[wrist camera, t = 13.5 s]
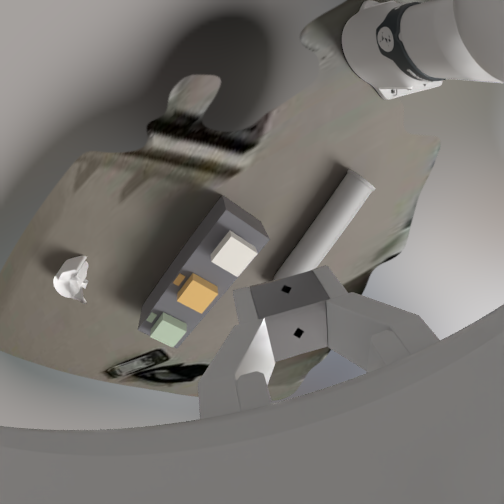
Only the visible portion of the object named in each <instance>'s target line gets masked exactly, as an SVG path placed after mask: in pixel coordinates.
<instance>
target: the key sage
mask: <svg viewBox="0 0 504 504" xmlns="http://www.w3.org/2000/svg"><path fill="white" fill-rule="evenodd" d="M186 332H187V324H186V323H184V322H182V321H180V320H178V319H176V318H174V317H172V316H170V315H168V314H166V313H164V312H163V313H162V315H161V316H160V317H159V319H158V320H157V321H156V323H155V324H154V325H153V327H152V328H151V332H150V337H151V338H153V339H155V340H158V341H160V342H162V343H164V344H166V345H168V346H171V347H174V346H175V345H176V344H177V343H178V341H179V340H180V339H181V338H182V337H183V335H184V334H185V333H186Z"/></svg>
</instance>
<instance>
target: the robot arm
mask: <svg viewBox="0 0 504 504" xmlns="http://www.w3.org/2000/svg"><path fill="white" fill-rule="evenodd" d="M342 47H343V52H344V55H345V57H346V60H347V61H348V63H349V65H350V67H351V68H352V69H353V71H354V72H355V73H356V74H357V75H358V76H359V77H360V78H362V79H363V80H364V81H366V82H367V83H369V84H370V85H372V86H373V87H374V88H375V89H376V91H377V92H378V94H379V95H380V96H381V97H382V98H383V99H385V100H388V99H393V98H396V97H400V96H403V95H407V94H410V93H415V92H418V91H422V90H426V89H430V88H434V87H438V86H441V84H442V81H443V80H445V79H457V80H458V79H459V80H469V81H479V82H494V83H504V0H432V1H428V2H424V3H420V2H414V3H406V4H404V3H396V2H395V1H388V2H384V3H379V2H376V1H372V0H367V1H364V2H363V4H362V6H361V8H360V10H359V12H358V13H357V14H355V15H354V16H352V17H351V18H350V19H349V20H348V21H347V23H346V24H345V26H344V29H343V33H342ZM391 90H392V91H393V93H391ZM233 296H234V301H235V306H236V311H237V316H238V321H239V325H235V326H234V327H233V329H232V331H231V332H230V334H229V335H228V337H227V338H226V340H225V342H224V343H223V345H222V346H221V348H220V349H219V351H218V353H217V354H216V356H215V357H214V359H213V360H212V362H211V363H210V365H209V367H208V368H207V370H206V371H205V373H204V374H203V376H202V377H201V379H200V381H199V382H198V394H199V408H200V409H199V410H200V419H199V420H192V421H186V422H179V423H172V424H164V425H156V426H146V427H136V428H124V429H107V430H41V429H25V428H14V427H4V426H0V504H504V305H502V306H500V307H499V308H497V309H496V310H494V311H493V312H491V313H489V314H487V315H486V316H484V317H482V318H481V319H479V320H477V321H476V322H474V323H472V324H470V325H469V326H467V327H465V328H463V329H462V330H460V331H458V332H456V333H454V334H452V335H450V336H449V337H446V338H444V339H442V340H439V339H438V338H437V337H436V335H435V334H434V333H433V332H432V330H431V329H430V328H429V327H428V326H427V325H426V323H425V322H424V321H423V320H422V319H421V317H420V316H419V315H416V314H413V313H410V312H407V311H404V310H402V309H399V308H396V307H393V306H390V305H387V304H385V303H382V302H379V301H376V300H373V299H370V298H367V297H365V296H362V295H359V294H356V293H353V292H352V293H348V292H347V291H346V290H345V288H344V287H343V286H342V284H341V283H340V281H339V280H338V279H337V277H336V276H335V275H334V273H333V272H332V271H331V269H330V268H329V267H328V266H326V265H325V266H322V267H319V268H316V269H312V270H310V271H307V272H303V273H300V274H297V275H293V276H290V277H286V278H283V279H277V280H273V281H269V282H265V283H261V284H257V285H252V286H250V288H249V287H244V288H240V289H236V290H233ZM327 346H328V347H329V348H330V349H332V350H334V351H335V352H337V353H338V354H340V355H341V356H343V357H345V358H346V359H348V360H349V361H351V362H353V363H354V364H356V365H357V366H359V367H361V368H362V369H364V370H366V371H367V373H366V374H364V375H361V376H358V377H356V378H353V379H350V380H348V381H345V382H342V383H339V384H336V385H333V386H330V387H327V388H324V389H321V390H318V391H315V392H312V393H308V394H305V395H302V396H298V397H295V398H292V399H288V400H284V401H281V402H277V403H273V404H272V400H271V397H270V393H269V390H268V387H267V384H268V382H269V379H270V376H271V374H272V371H273V368H274V365H275V362H277V361H280V360H283V359H286V358H290V357H293V356H296V355H299V354H302V353H306V352H310V351H313V350H317V349H320V348H324V347H327Z"/></svg>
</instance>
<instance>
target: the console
mask: <svg viewBox="0 0 504 504" xmlns="http://www.w3.org/2000/svg"><path fill="white" fill-rule="evenodd" d="M229 231H232V232H233V233H235V234H236V235H238V236H239V237H241V238H242V239H244V240H245V241H247V242H248V243H250V244H251V245H253V246H254V247H255V248H256V250H257V253H259V252H260V251H261V249H262V248H263V247H264V246H265V245H266V244H267V242H268V241H269V240H270V239H269V237H268V235H267V233H266V231H265V229H264V227H263V225H262V223H261V221H259V220H258V219H256V218H255V217H253V216H252V215H251V214H249V213H248V212H246V211H245V210H243V209H242V208H241V207H239V206H238V205H236V204H235V203H233V202H232V201H230V200H229V199H228V198H226V197H225V196H223V195H222V196H221V197H220V199H219V200H218V201H217V203H216V204H215V205H214V207H213V208H212V209H211V210H210V212H209V213H208V214H207V216H206V217H205V218H204V220H203V221H202V222H201V224H200V225H199V226H198V228H197V229H196V231H195V232H194V233H193V235H192V236H191V237H190V239H189V240H188V241H187V243H186V244H185V246H184V247H183V248H182V250H181V251H180V252H179V254H178V255H177V257H176V258H175V259H174V261H173V262H172V264H171V265H170V267H169V268H168V269H167V271H166V272H165V274H164V275H163V276H162V278H161V279H160V281H159V282H158V284H157V285H156V287H155V288H154V289H153V291H152V292H151V294H150V295H149V297H148V298H147V300H146V301H145V303H144V304H143V306H142V311H141V316H140V321H139V326H138V330H139V331H141V332H143V333H145V334H147V335H149V336H150V332H151V328H152V327H153V325H154V324H155V323H156V321H157V320H158V319H159V317H160V316H161V315H162V313H163V312H164V313H166V314H168V315H170V316H172V317H174V318H176V319H178V320H180V321H182V322H184V323H186V324H187V332H186V333H185V334H184V335H183V337H182V338H181V339H180V340H179V341H178V343H177V344H176V345H175V346H174V347H175V348H178V347H179V346H180V345H181V343H182V342H183V341H184V340H185V339H186V338H187V336H188V335H189V334H190V333H191V332H192V331H193V329H194V328H195V327H196V326H197V325H198V324H199V322H200V321H201V320H202V319H203V318H204V317H205V315H206V314H207V313H208V312H209V311H210V309H211V308H212V307H213V306H214V305H215V304H216V302H217V301H218V300H219V299H220V298H221V297H222V295H223V294H224V293H225V292H226V291H227V290H228V288H229V287H230V286H231V285H232V284H233V282H234V281H235V280H236V279H237V278H238V277H239V276H238V277H236V276H235V275H233V274H231V273H230V272H228V271H226V270H224V269H223V268H221V267H219V266H218V265H216V264H214V263H213V262H211V253H212V252H213V251H214V250H215V248H216V247H217V246H218V244H219V243H220V242H221V241H222V239H223V238H224V237H225V236H226V234H227V233H228V232H229ZM255 257H256V256H255ZM255 257H254V258H255ZM254 258H253V259H254ZM249 264H250V263H249ZM249 264H248V265H249ZM244 270H245V269H244ZM244 270H243V271H244ZM243 271H242V272H243ZM192 273H194V274H196V275H198V276H199V277H201V278H203V279H205V280H207V281H208V282H210V283H212V284H214V285H215V286H217V288H218V295H217V296H216V297H215V299H214V300H213V301H212V302H211V303H210V304H209V306H208V307H207V308H206V309H205V310H204V312H203V313H202V314H201V313H199V312H197V311H195V310H193V309H191V308H189V307H187V306H186V305H184V304H182V303H180V302H178V301H177V293H178V292H179V291H180V289H181V288H182V287H183V285H184V284H185V283H186V281H187V280H188V279H189V277H190V276H191V275H192Z"/></svg>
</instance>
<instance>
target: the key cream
mask: <svg viewBox="0 0 504 504" xmlns="http://www.w3.org/2000/svg"><path fill="white" fill-rule="evenodd" d="M257 254H258V253H257V250H256V248H255V247H254V246H253V245H251V244H250V243H248V242H247V241H245V240H244V239H242V238H241V237H239V236H238V235H236V234H235V233H233V232H232V231H229V232H228V233H227V234H226V236H225V237H224V238H223V239H222V241H221V242H220V243H219V244H218V246H217V247H216V248H215V250H214V251H213V252H212V253H211V262H213V263H214V264H216V265H218V266H219V267H221V268H223V269H224V270H226V271H228V272H230V273H231V274H233V275H235V276H236V277H238V276H239V275H240V274H241V273H242V271H243V270H244V269H245V268H246V267H247V266H248V264H249V263H250V262H251V261H252V260H253V258H254V257H255V256H256V255H257Z"/></svg>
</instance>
